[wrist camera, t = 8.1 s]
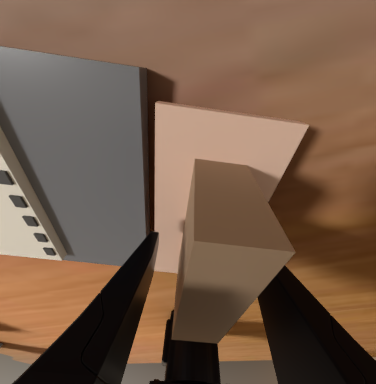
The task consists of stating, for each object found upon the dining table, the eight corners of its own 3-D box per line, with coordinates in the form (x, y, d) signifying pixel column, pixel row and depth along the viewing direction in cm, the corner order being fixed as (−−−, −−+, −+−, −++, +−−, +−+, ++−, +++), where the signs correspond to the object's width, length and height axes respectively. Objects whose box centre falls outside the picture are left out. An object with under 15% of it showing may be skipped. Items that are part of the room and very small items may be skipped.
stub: (301, 121, 7) (460, 193, 3) (226, 271, 14) (240, 355, 10) (158, 100, 7) (96, 144, 3) (155, 263, 14) (138, 346, 9)
